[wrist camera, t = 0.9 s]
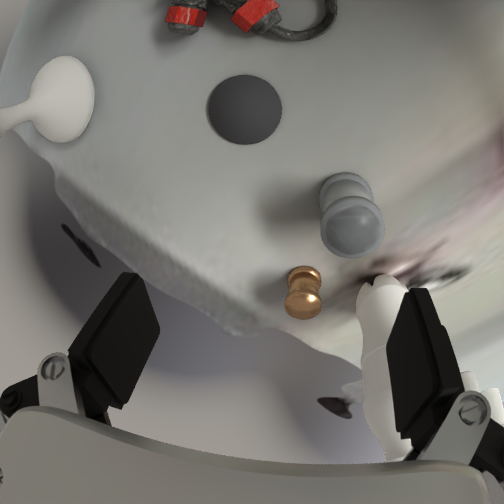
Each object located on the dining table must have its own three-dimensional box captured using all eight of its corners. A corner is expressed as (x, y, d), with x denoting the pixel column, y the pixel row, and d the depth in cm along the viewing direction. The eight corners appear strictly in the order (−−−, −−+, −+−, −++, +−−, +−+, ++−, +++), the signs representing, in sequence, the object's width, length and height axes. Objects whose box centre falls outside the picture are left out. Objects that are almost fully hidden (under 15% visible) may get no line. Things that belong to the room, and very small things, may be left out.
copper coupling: (315, 262, 36) (314, 289, 32) (325, 287, 38) (325, 315, 34) (283, 270, 38) (279, 298, 34) (294, 294, 40) (292, 322, 36)
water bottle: (390, 314, 39) (410, 489, 19) (345, 303, 39) (347, 492, 19) (415, 276, 35) (461, 467, 14) (367, 262, 35) (393, 474, 14)
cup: (453, 407, 53) (459, 442, 44) (495, 384, 46) (504, 419, 38) (462, 414, 55) (467, 446, 46) (500, 392, 48) (509, 425, 40)
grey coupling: (363, 165, 28) (376, 192, 23) (377, 213, 31) (390, 248, 25) (311, 182, 31) (311, 212, 25) (328, 227, 33) (331, 265, 28)
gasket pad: (262, 63, 24) (262, 63, 24) (293, 128, 28) (293, 128, 27) (198, 94, 27) (196, 94, 27) (229, 154, 30) (228, 155, 30)
